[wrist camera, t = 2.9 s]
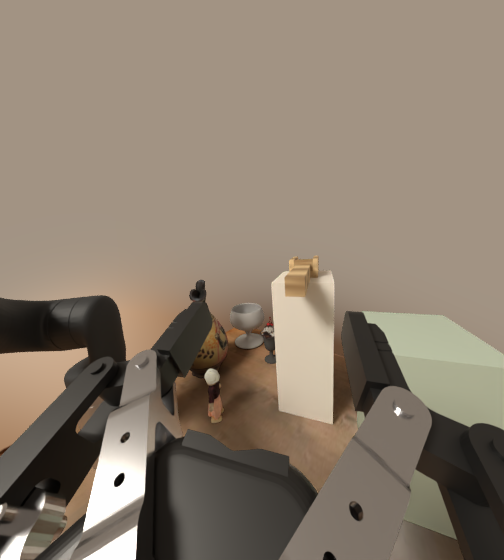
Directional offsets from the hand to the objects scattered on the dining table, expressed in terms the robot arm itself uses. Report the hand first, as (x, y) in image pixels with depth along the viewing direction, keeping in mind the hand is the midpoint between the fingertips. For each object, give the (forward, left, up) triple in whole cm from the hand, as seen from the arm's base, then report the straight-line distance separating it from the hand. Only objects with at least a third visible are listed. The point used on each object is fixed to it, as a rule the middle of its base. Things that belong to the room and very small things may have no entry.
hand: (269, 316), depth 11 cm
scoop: (-15, +24, -4) cm, 29 cm away
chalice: (-50, +34, -36) cm, 71 cm away
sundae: (-35, +32, -36) cm, 60 cm away
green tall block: (+3, +27, -36) cm, 45 cm away
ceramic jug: (-48, +14, -36) cm, 62 cm away
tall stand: (-18, +28, -36) cm, 49 cm away
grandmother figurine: (-29, +7, -36) cm, 47 cm away
